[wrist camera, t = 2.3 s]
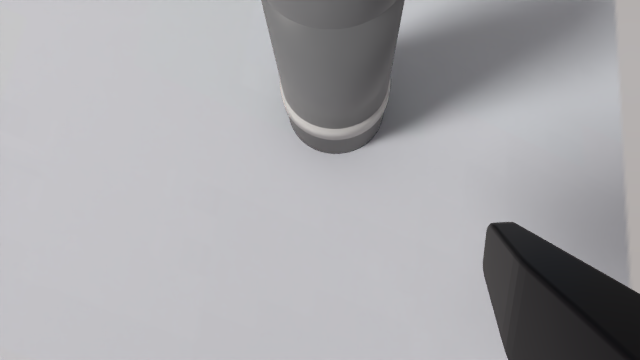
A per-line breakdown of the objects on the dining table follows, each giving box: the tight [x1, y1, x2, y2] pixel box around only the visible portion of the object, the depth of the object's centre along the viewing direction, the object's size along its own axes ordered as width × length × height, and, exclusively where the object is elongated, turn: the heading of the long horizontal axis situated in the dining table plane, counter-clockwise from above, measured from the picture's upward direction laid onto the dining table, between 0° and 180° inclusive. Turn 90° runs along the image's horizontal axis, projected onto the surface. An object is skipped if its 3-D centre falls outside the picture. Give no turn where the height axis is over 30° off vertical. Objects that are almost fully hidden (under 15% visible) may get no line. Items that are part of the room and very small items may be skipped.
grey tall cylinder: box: [261, 0, 404, 154], centre depth 19 cm, size 5×5×12 cm
